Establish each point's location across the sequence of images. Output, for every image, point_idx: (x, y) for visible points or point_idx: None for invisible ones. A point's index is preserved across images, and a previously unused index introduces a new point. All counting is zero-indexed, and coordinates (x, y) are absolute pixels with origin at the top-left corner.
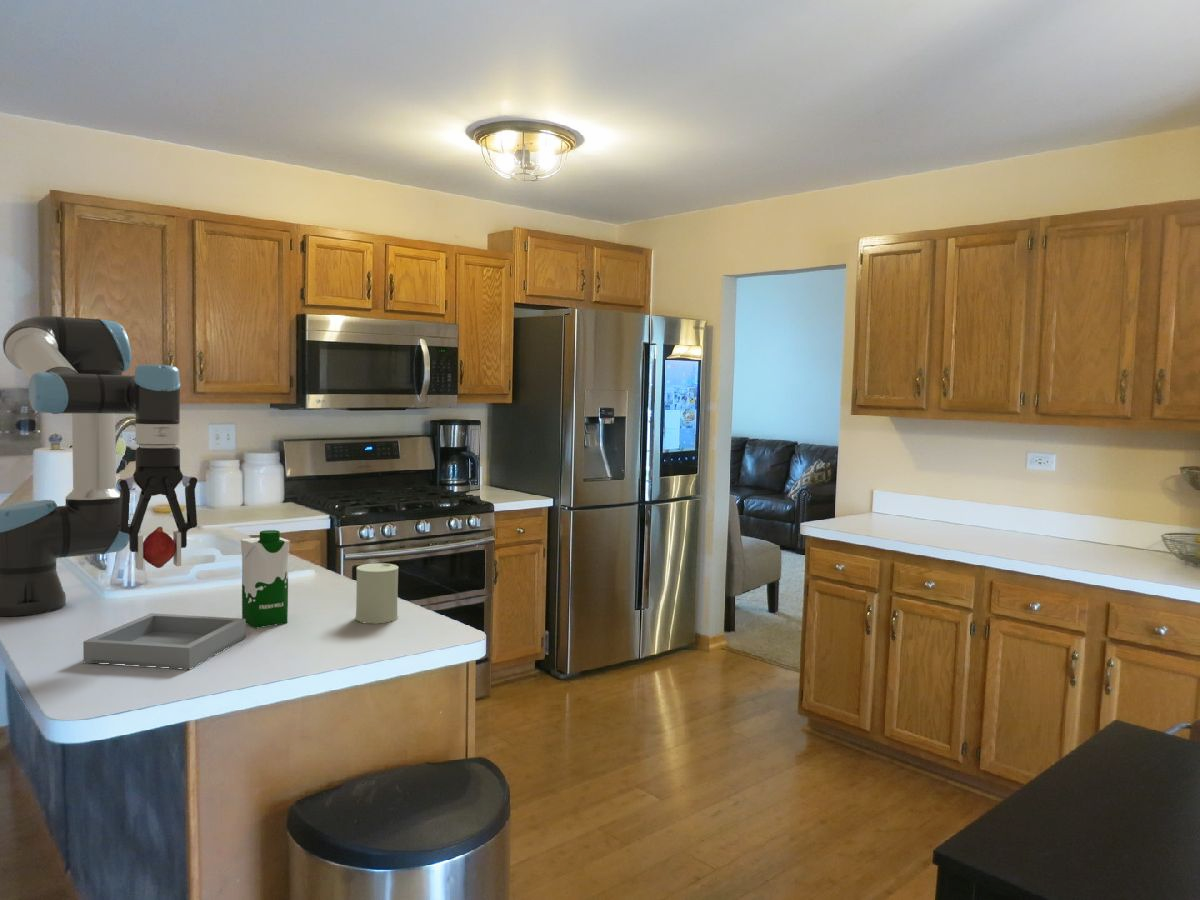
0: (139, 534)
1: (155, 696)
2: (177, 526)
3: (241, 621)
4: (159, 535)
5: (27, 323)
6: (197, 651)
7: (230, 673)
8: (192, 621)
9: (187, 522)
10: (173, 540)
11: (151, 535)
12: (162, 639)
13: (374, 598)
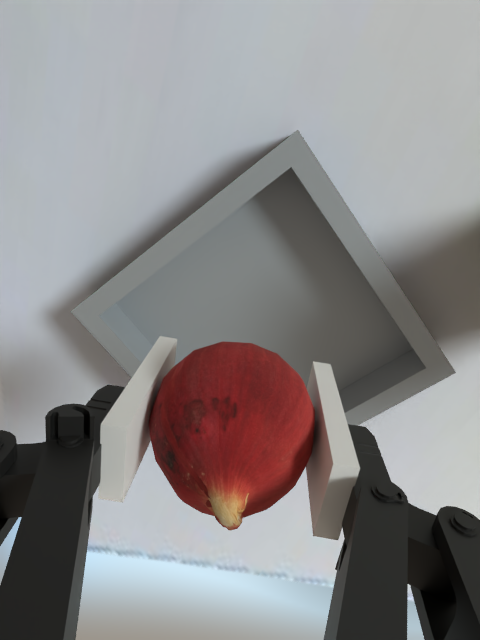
0: (113, 465)
1: (150, 527)
2: (356, 509)
3: (433, 383)
4: (213, 514)
5: None
6: None
7: (284, 513)
8: (358, 267)
9: (420, 563)
10: (324, 428)
11: (177, 488)
12: (272, 264)
13: None
